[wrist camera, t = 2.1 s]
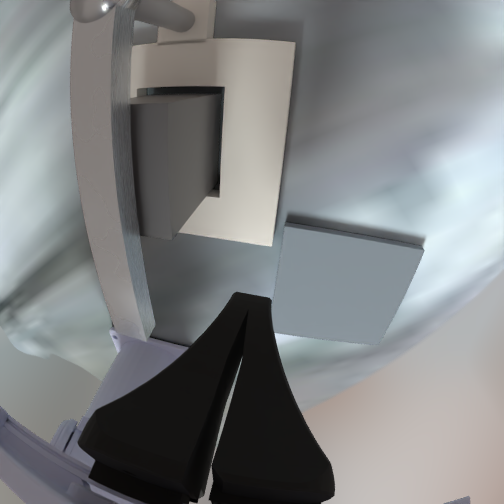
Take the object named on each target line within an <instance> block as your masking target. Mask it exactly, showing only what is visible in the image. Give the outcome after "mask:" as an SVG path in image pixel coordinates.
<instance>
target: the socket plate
mask: <svg viewBox="0 0 504 504" xmlns="http://www.w3.org/2000/svg"><path fill="white" fill-rule="evenodd" d="M216 3H217V2H216V1H215V0H173V1H170V0H142V1H141V3H140V4H139V6H138V7H137V9H136V10H135V16H134V20H137V21H141V22H145V23H149V24H152V25H156V26H158V37H157V43H149V44H142V45H135V46H132V55H131V84H130V98H134V97H140V96H146V95H147V88H152V87H173V86H222V87H225V96H224V112H223V130H222V150H221V173H220V190H214V189H212V190H211V191H210V192H209V194H208V195H207V196H206V197H205V199H204V200H203V201H202V202H201V204H200V205H199V206H198V207H197V209H196V210H195V211H194V212H193V214H192V215H191V216H190V218H189V219H188V220H187V221H186V223H185V224H184V225H183V227H182V228H181V229H180V231H179V233H185V234H192V235H199V236H206V237H212V238H219V239H226V240H232V241H239V242H245V243H252V244H258V245H265V246H271V247H272V243H273V238H274V231H275V223H276V215H277V207H278V200H279V192H280V184H281V175H282V167H283V159H284V150H285V142H286V133H287V124H288V115H289V106H290V97H291V88H292V78H293V68H294V58H295V48H296V44H295V42H287V41H276V40H262V39H237V38H215V39H213V35H214V24H215V13H216Z"/></svg>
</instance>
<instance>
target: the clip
mask: <svg viewBox="0 0 504 504" xmlns="http://www.w3.org/2000/svg"><path fill="white" fill-rule="evenodd" d="M141 1H142V0H71V1H70V11H71V14H72V16H73V18H74V22H73V33H72V46H71V72H70V93H71V119H72V134H73V145H74V155H75V164H76V171H77V179H78V185H79V192H80V198H81V203H82V209H83V214H84V219H85V224H86V229H87V233H88V238H89V242H90V247H91V251H92V255H93V259H94V263H95V266H96V270H97V274H98V277H99V281H100V284H101V288H102V291H103V294H104V297H105V301H106V304H107V307H108V310H109V313H110V316H111V319H112V322H113V325H114V327H115V330H116V333H119V334H122V335H125V336H129V337H132V338H135V339H139V340H142V341H146V342H147V340H148V338H149V336H150V334H151V333H152V331H153V329H154V327H155V320H154V315H153V310H152V306H151V301H150V295H149V290H148V285H147V279H146V273H145V267H144V261H143V255H142V248H141V241H140V234H139V226H138V218H137V209H136V200H135V189H134V177H133V164H132V146H131V116H130V84H131V55H132V39H133V27H134V16H135V10H136V9H137V7H138V6H139V4H140V3H141Z"/></svg>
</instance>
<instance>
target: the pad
mask: <svg viewBox="0 0 504 504" xmlns="http://www.w3.org/2000/svg"><path fill="white" fill-rule="evenodd" d="M423 253H424V249H423V247H422V246H420V245H415V244H409V243H404V242H399V241H394V240H388V239H383V238H378V237H372V236H367V235H361V234H355V233H349V232H344V231H338V230H332V229H326V228H320V227H314V226H307V225H301V224H295V223H288V222H285V227H284V234H283V240H282V247H281V253H280V260H279V266H278V272H277V278H276V285H275V291H274V297H273V303H272V309H271V312H272V322H273V329H274V333H279V334H286V335H293V336H300V337H307V338H314V339H322V340H331V341H339V342H348V343H358V344H369V345H379V344H380V342H381V340H382V338H383V336H384V335H385V333H386V331H387V329H388V327H389V325H390V324H391V322H392V320H393V318H394V316H395V314H396V312H397V310H398V308H399V306H400V304H401V302H402V300H403V298H404V296H405V294H406V292H407V290H408V287H409V285H410V283H411V281H412V279H413V276H414V274H415V272H416V270H417V267H418V265H419V263H420V260H421V258H422V256H423Z"/></svg>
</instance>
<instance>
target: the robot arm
mask: <svg viewBox="0 0 504 504" xmlns="http://www.w3.org/2000/svg"><path fill="white" fill-rule="evenodd" d="M271 303H272V300H271V299H270V298H268V297H262V296H257V295H251V294H246V293H240V292H235V293H234V294H233V295H232V297H231V298H230V300H229V302H228V303H227V304H226V306H225V307H224V309H223V310H222V311H221V313H220V314H219V315H218V317H217V318H216V319H215V320H214V321H213V323H212V324H211V325H210V326H209V327H208V328H207V330H206V331H205V332H204V333H203V334H202V335H201V336H200V337H199V338H198V339H197V340H196V341H195V342H194V343H193V344H192V345H191V346H190V347H185V346H181V345H177V344H173V343H169V342H165V341H161V340H157V339H153V338H150V337H149V338H148V340H147V342H146V341H142V340H139V339H135V338H132V337H129V336H125V335H122V334H119V333H116V330H115V327H111V329H110V330H109V331H110V334H111V337H112V339H113V342H114V344H115V347H116V349H117V352H118V355H117V356H116V358H115V360H114V362H113V363H112V365H111V367H110V369H109V371H108V372H107V374H106V376H105V378H104V380H103V382H102V383H101V385H100V387H99V389H98V391H97V393H96V395H95V396H94V398H93V400H92V402H91V404H90V406H89V408H88V410H87V412H86V414H85V416H83V417H82V419H81V420H80V422H79V424H78V426H76V424H77V421H75V420H74V419H70V420H64V421H63V422H62V423H61V424H60V426H59V427H58V429H57V431H56V433H55V435H54V436H53V438H52V440H51V442H50V444H49V443H48V442H46V441H45V440H43V439H42V438H40V437H39V436H37V435H36V434H34V433H33V432H31V431H30V430H28V429H27V428H26V427H24V426H23V425H21V424H20V423H19V422H17V421H16V420H15V419H14V418H12V417H11V416H10V415H8V413H7V412H6V411H5V410H4V409H3V408H2V407H1V406H0V479H1V480H2V481H3V482H4V483H5V484H6V485H7V486H8V487H9V488H10V489H11V490H12V491H13V492H14V493H15V494H16V495H17V496H18V497H19V498H20V499H21V500H23V501H24V502H25V503H26V504H189V501H190V502H194V503H197V502H198V499H199V498H201V497H203V496H204V494H205V489H206V485H207V480H208V475H209V471H210V467H211V463H212V458H213V454H214V450H215V446H216V442H217V437H218V433H219V429H220V425H221V421H222V417H223V412H224V409H225V406H226V402H227V399H228V396H229V394H230V391H231V388H232V385H233V382H234V379H235V376H236V373H237V371H238V368H239V365H240V362H241V359H242V362H241V366H240V370H239V374H238V377H237V381H236V385H235V389H234V392H233V396H232V399H231V403H230V407H229V410H228V413H227V417H226V420H225V424H224V427H223V431H222V434H221V437H220V440H219V444H218V447H217V450H216V453H215V456H214V459H213V463H212V474H213V485H212V488H211V492H210V496H209V500H210V501H211V502H212V504H321V502H324V501H326V500H329V499H330V498H332V497H333V496H334V492H335V482H334V475H333V471H332V466H331V463H330V461H329V460H328V458H327V457H326V455H325V454H324V452H323V451H322V449H321V448H320V446H319V445H318V443H317V441H316V440H315V438H314V436H313V434H312V433H311V431H310V429H309V427H308V426H307V424H306V422H305V420H304V418H303V415H302V413H301V411H300V409H299V407H298V405H297V403H296V401H295V399H294V396H293V394H292V391H291V389H290V386H289V384H288V381H287V378H286V375H285V372H284V369H283V366H282V363H281V359H280V356H279V352H278V348H277V344H276V339H275V334H274V329H273V322H272V312H271ZM444 504H470V497H469V496H467V497H464V498H461V499H458V500H454V501H451V502H448V503H444Z"/></svg>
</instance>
